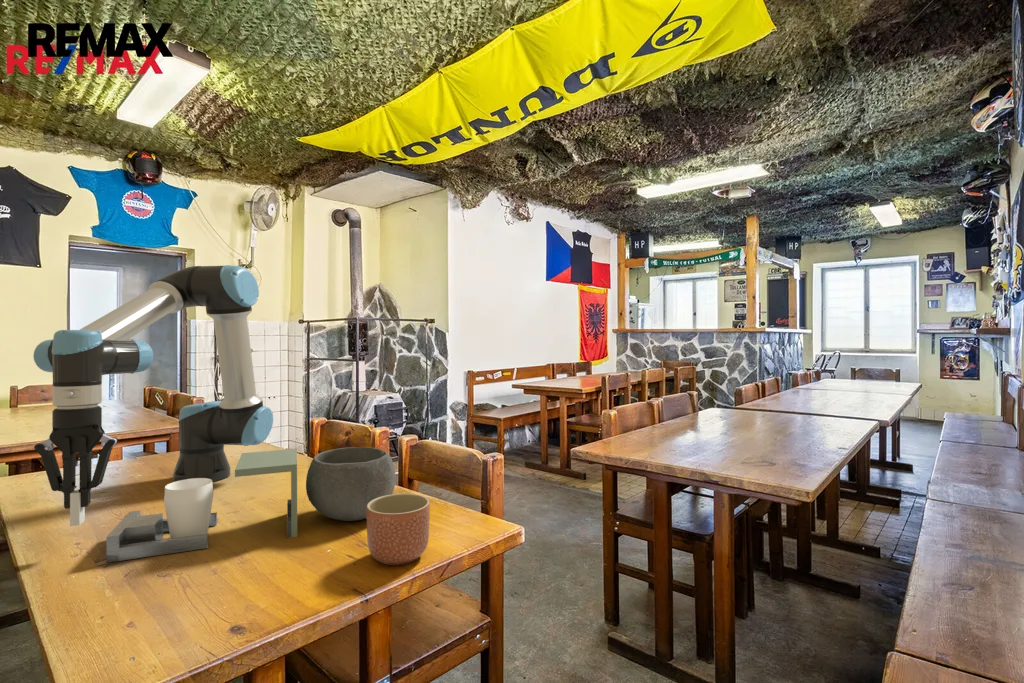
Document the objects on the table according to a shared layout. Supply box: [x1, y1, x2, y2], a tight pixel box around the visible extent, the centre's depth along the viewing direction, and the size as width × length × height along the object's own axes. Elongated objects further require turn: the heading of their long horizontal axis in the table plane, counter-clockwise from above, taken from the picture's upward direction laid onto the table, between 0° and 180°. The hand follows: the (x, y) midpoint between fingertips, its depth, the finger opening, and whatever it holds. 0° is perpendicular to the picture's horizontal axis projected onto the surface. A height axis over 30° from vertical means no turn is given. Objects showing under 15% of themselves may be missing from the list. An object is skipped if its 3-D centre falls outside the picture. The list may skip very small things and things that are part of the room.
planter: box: [365, 493, 431, 566], centre depth 100 cm, size 12×12×11 cm
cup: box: [163, 478, 214, 539], centre depth 109 cm, size 9×9×12 cm
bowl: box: [305, 446, 397, 522], centre depth 124 cm, size 21×21×15 cm
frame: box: [105, 510, 218, 563], centre depth 108 cm, size 15×17×5 cm
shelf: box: [234, 448, 298, 539], centre depth 115 cm, size 16×12×16 cm
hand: (77, 523), depth 101 cm, fingers closed
